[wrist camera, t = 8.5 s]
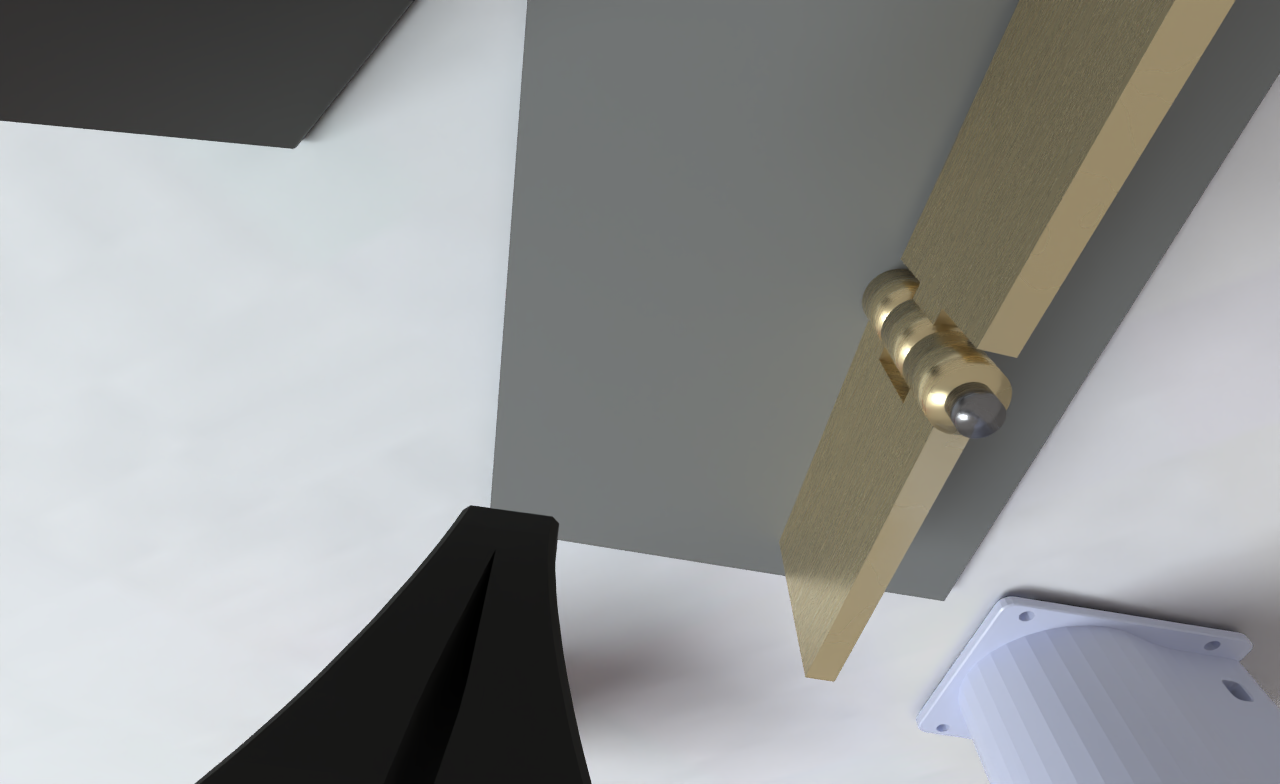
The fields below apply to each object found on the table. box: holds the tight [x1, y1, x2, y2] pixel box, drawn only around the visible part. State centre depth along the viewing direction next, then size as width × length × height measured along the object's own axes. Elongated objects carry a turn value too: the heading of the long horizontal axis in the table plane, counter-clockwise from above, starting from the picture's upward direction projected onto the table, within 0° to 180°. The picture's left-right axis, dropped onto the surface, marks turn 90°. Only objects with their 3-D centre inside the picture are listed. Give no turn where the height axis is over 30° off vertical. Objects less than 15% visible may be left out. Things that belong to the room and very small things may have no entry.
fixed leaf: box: [779, 269, 1012, 681], centre depth 17 cm, size 10×2×6 cm, turn 170°
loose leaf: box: [881, 0, 1235, 378], centre depth 12 cm, size 10×2×5 cm, turn 167°
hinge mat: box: [490, 0, 1280, 601], centre depth 17 cm, size 16×21×1 cm
